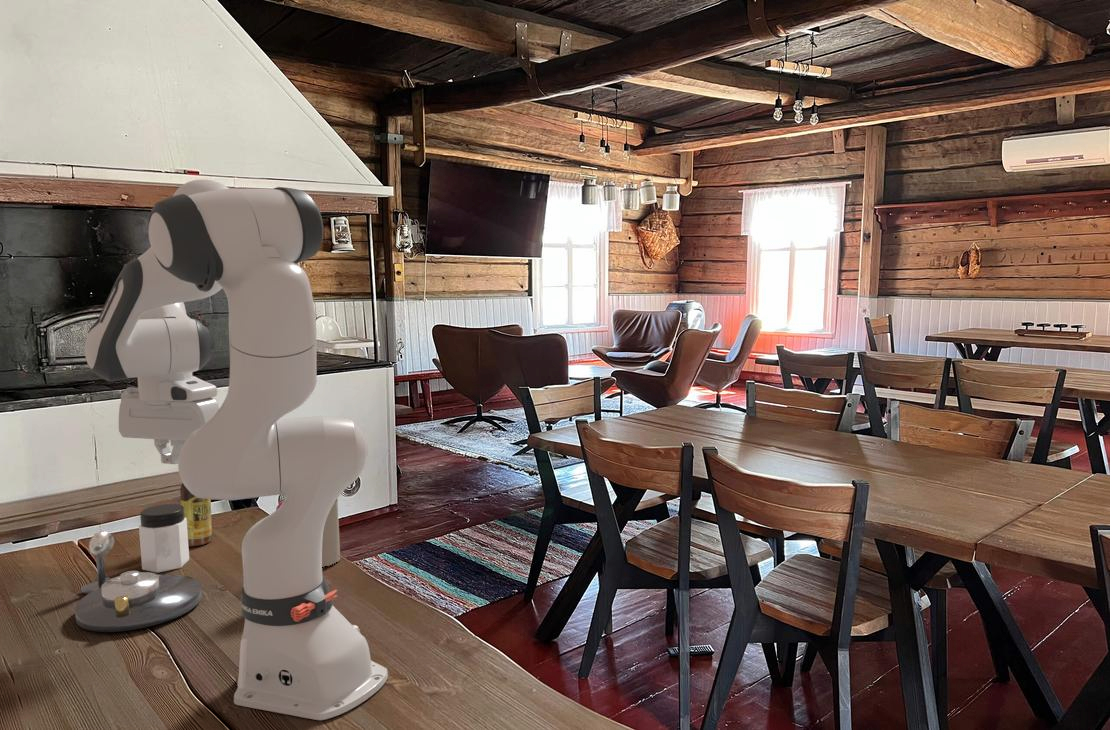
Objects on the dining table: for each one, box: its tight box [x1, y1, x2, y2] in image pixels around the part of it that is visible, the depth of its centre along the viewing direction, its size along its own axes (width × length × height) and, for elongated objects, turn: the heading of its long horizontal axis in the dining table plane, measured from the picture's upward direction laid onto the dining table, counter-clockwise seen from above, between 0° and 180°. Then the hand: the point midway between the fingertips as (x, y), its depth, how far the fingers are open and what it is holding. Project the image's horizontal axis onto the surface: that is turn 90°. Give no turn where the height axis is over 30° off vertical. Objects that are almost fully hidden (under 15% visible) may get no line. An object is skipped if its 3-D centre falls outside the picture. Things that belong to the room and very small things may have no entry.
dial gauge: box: [81, 531, 115, 595], centre depth 145 cm, size 7×5×12 cm
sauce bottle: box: [179, 482, 213, 547], centre depth 172 cm, size 6×6×20 cm
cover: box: [101, 570, 160, 609], centre depth 136 cm, size 9×9×4 cm
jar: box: [138, 503, 190, 574], centre depth 159 cm, size 9×8×12 cm
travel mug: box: [322, 497, 341, 568], centre depth 159 cm, size 8×8×18 cm
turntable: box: [74, 573, 202, 633], centre depth 138 cm, size 20×20×5 cm
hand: (171, 463), depth 138 cm, fingers closed
